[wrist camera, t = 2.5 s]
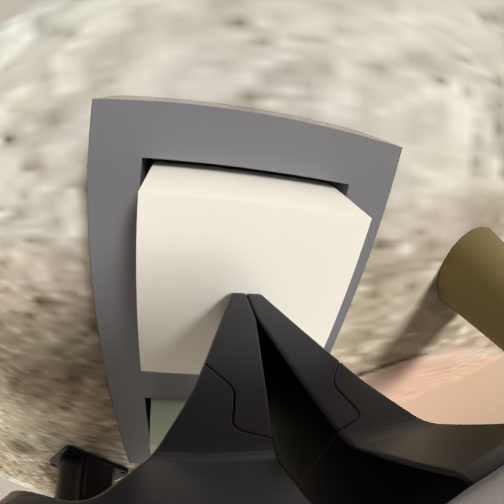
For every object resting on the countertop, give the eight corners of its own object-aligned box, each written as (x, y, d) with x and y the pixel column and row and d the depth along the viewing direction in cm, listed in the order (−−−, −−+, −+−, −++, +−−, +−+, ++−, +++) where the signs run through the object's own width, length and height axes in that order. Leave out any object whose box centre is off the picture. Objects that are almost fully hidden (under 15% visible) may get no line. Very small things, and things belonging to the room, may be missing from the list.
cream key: (291, 318, 14) (313, 372, 11) (148, 311, 13) (140, 370, 10) (329, 183, 11) (371, 218, 8) (154, 161, 10) (137, 191, 7)
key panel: (264, 424, 22) (273, 462, 19) (131, 422, 20) (129, 462, 17) (357, 131, 13) (402, 147, 10) (119, 95, 11) (92, 98, 8)
